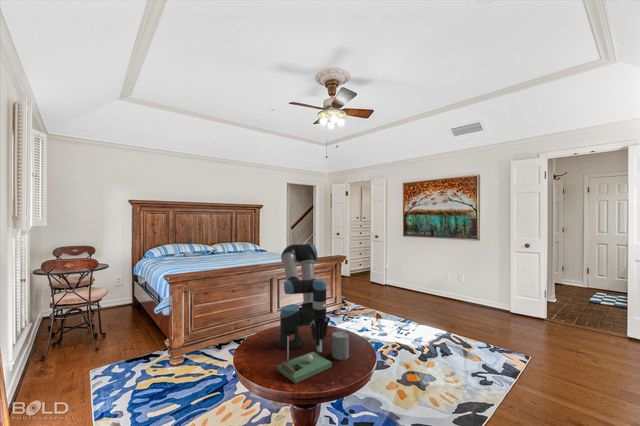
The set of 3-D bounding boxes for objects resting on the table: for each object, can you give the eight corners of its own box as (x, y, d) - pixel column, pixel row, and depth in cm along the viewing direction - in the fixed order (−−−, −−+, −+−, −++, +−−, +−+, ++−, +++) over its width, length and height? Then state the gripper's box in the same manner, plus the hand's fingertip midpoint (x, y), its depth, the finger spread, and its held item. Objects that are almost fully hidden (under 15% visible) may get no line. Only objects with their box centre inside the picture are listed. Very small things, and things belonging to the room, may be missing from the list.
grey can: (347, 360, 170) (348, 338, 170) (330, 358, 172) (331, 337, 172) (349, 352, 179) (349, 331, 179) (333, 351, 181) (333, 330, 181)
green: (277, 370, 159) (277, 338, 159) (312, 355, 175) (313, 327, 175) (295, 383, 147) (295, 349, 147) (331, 366, 163) (331, 336, 163)
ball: (304, 361, 163) (304, 354, 163) (309, 359, 166) (309, 352, 166) (308, 364, 160) (308, 357, 160) (314, 362, 163) (314, 354, 163)
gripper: (314, 312, 160) (314, 357, 160) (332, 307, 169) (332, 349, 168) (305, 308, 166) (305, 352, 166) (323, 304, 174) (323, 345, 174)
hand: (319, 350), depth 167 cm, fingers closed
